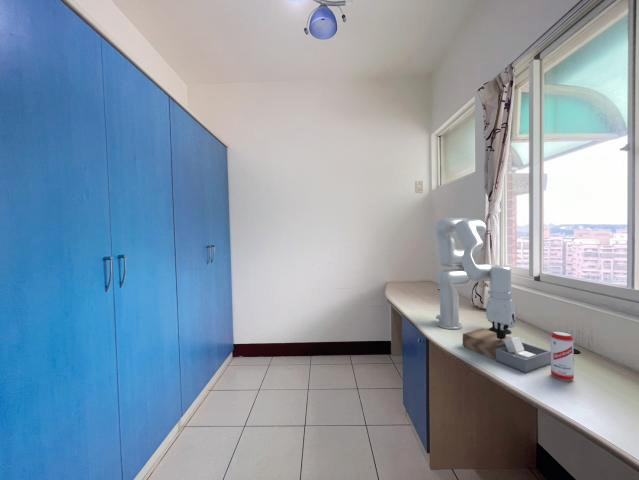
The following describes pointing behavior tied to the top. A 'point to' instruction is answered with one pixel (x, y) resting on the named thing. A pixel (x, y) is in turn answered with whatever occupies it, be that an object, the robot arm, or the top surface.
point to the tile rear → (514, 344)
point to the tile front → (524, 354)
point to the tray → (522, 364)
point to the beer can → (562, 355)
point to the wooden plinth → (483, 342)
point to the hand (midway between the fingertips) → (501, 338)
